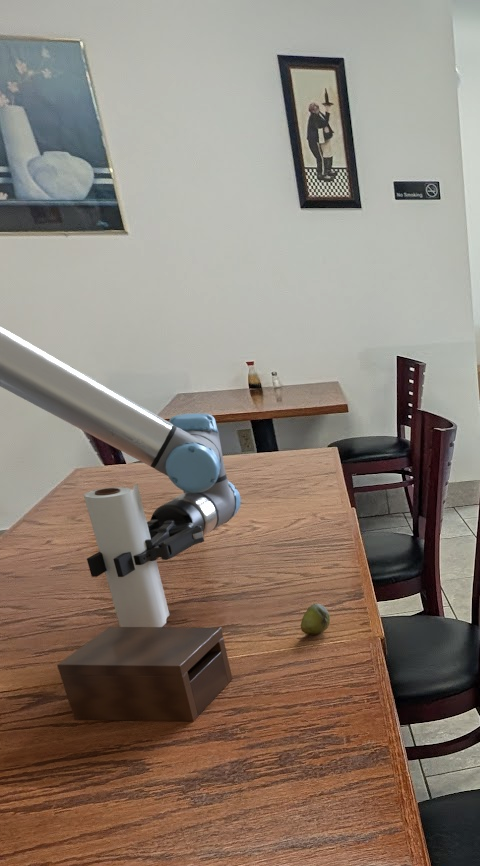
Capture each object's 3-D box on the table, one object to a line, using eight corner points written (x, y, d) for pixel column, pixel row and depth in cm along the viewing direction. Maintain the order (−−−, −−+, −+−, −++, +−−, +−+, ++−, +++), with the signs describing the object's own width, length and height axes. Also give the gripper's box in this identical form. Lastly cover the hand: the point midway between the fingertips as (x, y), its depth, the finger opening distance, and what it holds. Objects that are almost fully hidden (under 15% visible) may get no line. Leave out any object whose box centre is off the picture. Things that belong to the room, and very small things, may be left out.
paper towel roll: (123, 639, 122) (84, 498, 113) (119, 626, 127) (82, 489, 117) (175, 629, 125) (141, 491, 116) (169, 616, 130) (137, 482, 120)
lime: (302, 641, 128) (297, 611, 126) (304, 628, 132) (299, 600, 130) (331, 638, 129) (327, 608, 126) (332, 626, 133) (328, 597, 131)
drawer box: (74, 719, 107) (56, 664, 103) (124, 677, 117) (109, 626, 114) (193, 721, 106) (179, 665, 102) (232, 678, 116) (221, 627, 113)
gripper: (235, 543, 138) (166, 593, 117) (142, 542, 139) (57, 592, 118) (226, 499, 135) (154, 542, 114) (131, 498, 136) (42, 542, 115)
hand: (105, 567), depth 116 cm, fingers closed on paper towel roll, 3 cm apart
